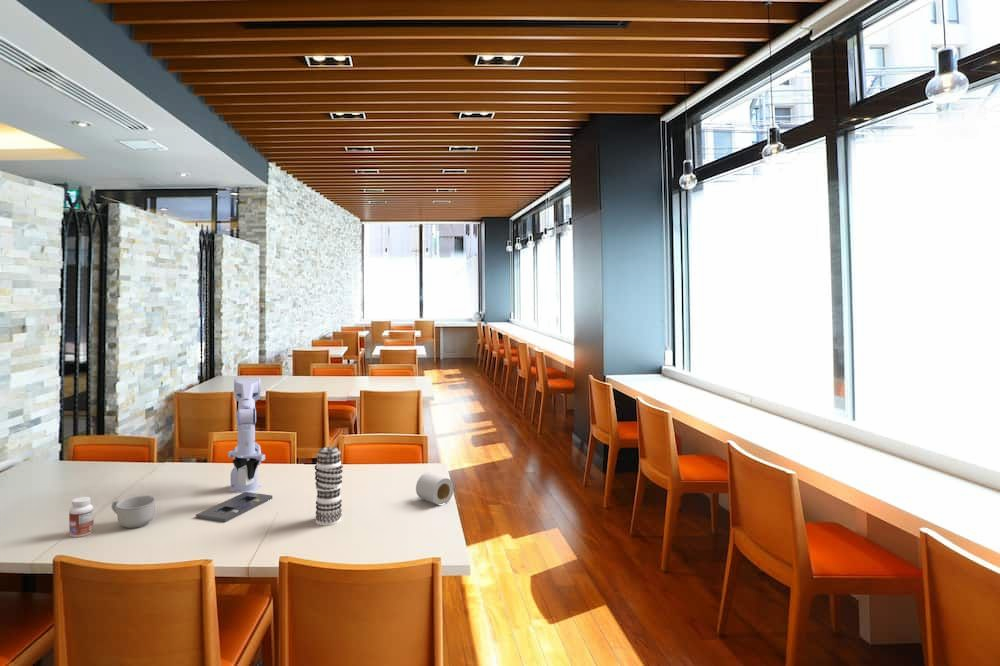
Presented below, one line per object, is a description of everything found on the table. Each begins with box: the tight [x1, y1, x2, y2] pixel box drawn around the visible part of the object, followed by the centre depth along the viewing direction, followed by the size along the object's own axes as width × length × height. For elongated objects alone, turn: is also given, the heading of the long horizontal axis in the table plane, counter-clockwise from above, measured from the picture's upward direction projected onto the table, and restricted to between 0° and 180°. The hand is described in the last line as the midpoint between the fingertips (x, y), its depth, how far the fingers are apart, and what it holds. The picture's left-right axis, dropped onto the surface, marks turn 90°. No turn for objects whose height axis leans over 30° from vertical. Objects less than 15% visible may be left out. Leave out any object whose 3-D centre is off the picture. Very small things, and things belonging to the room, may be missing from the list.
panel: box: [195, 492, 273, 523], centre depth 204 cm, size 12×24×2 cm, turn 164°
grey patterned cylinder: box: [314, 446, 344, 526], centre depth 194 cm, size 9×9×25 cm
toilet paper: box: [415, 472, 454, 506], centre depth 215 cm, size 10×10×10 cm
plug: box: [238, 465, 254, 486], centre depth 208 cm, size 3×4×7 cm
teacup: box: [111, 494, 156, 529], centre depth 188 cm, size 14×11×8 cm
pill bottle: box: [68, 496, 95, 538], centre depth 180 cm, size 6×6×11 cm
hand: (246, 478), depth 209 cm, fingers closed on plug, 3 cm apart
